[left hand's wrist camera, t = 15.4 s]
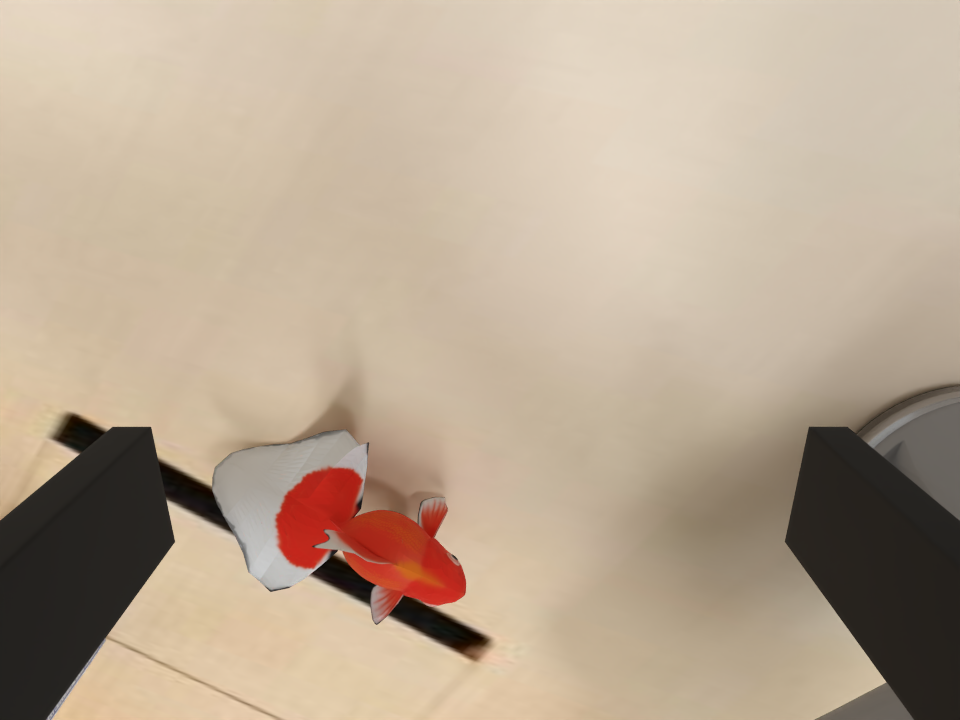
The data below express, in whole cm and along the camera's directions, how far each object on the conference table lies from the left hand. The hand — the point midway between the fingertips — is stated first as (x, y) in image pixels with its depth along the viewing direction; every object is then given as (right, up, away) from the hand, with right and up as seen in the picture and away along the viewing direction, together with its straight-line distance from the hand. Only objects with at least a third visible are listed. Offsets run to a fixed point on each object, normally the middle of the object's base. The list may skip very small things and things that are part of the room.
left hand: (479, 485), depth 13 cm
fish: (-8, -6, +28) cm, 29 cm away
